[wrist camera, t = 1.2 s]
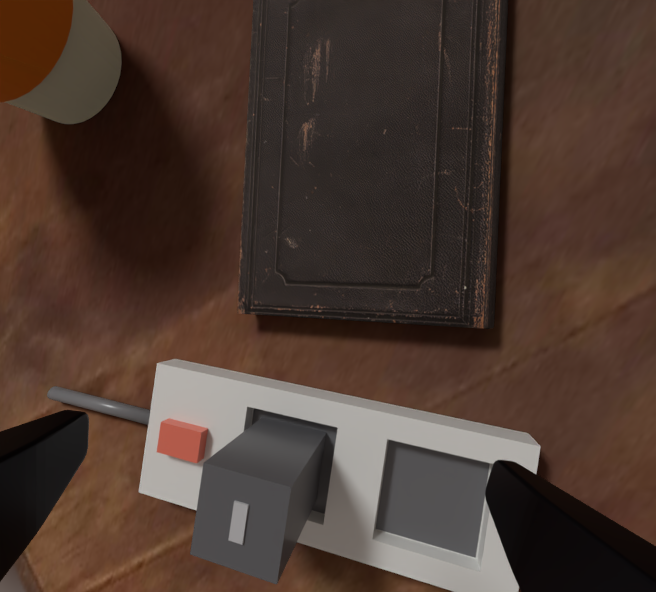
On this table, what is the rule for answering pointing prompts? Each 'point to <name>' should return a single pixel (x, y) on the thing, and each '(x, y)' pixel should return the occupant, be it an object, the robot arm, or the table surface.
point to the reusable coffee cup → (57, 58)
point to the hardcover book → (374, 160)
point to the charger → (258, 497)
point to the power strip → (342, 468)
